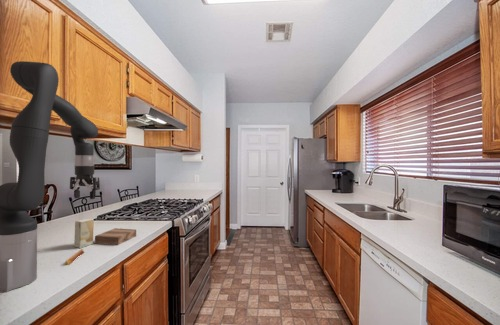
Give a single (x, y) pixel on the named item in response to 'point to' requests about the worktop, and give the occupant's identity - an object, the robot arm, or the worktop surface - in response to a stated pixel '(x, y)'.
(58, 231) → the worktop surface
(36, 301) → the worktop surface
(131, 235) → the walnut block
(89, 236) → the skincare box
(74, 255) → the chocolate bar
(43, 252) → the worktop surface
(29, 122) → the robot arm
